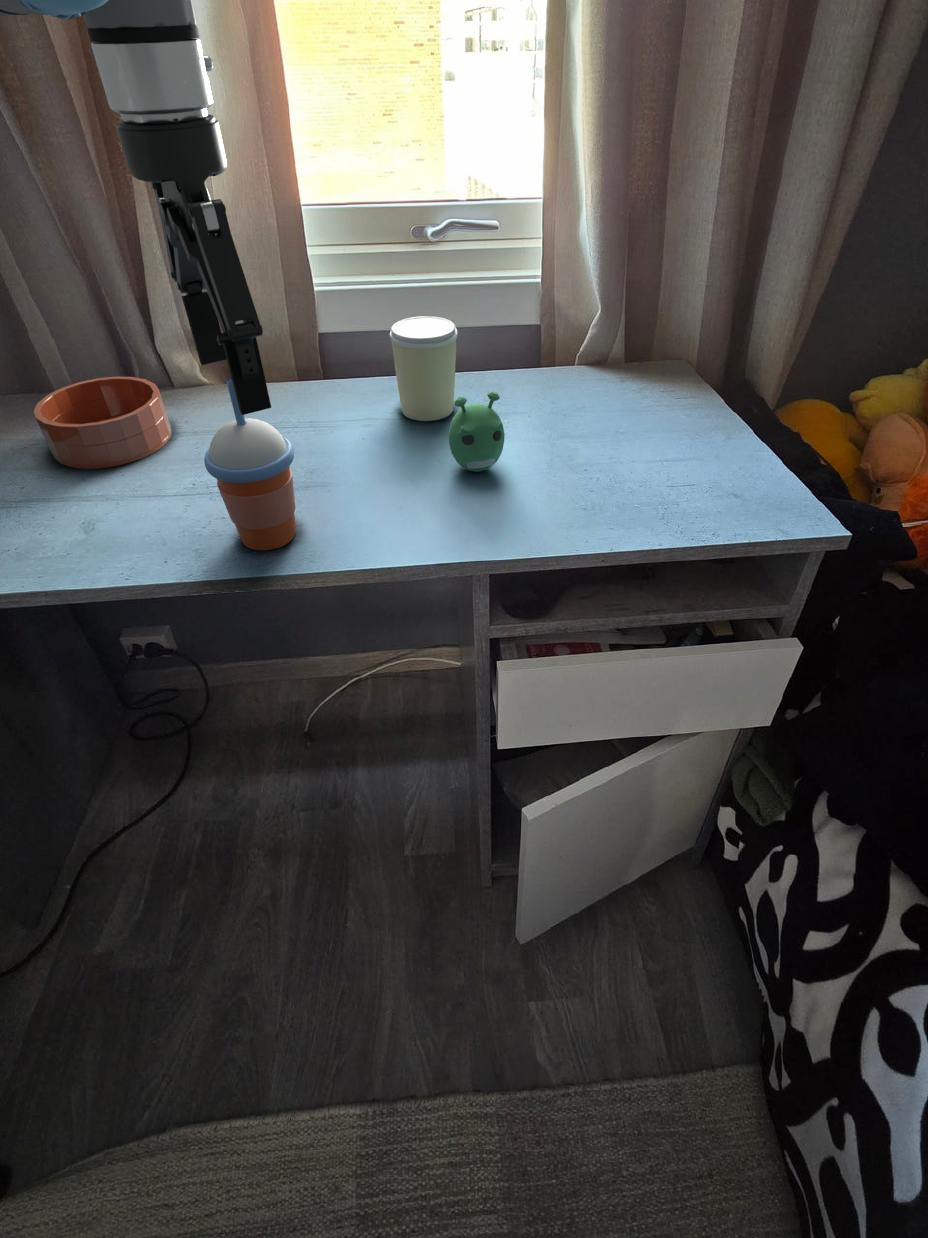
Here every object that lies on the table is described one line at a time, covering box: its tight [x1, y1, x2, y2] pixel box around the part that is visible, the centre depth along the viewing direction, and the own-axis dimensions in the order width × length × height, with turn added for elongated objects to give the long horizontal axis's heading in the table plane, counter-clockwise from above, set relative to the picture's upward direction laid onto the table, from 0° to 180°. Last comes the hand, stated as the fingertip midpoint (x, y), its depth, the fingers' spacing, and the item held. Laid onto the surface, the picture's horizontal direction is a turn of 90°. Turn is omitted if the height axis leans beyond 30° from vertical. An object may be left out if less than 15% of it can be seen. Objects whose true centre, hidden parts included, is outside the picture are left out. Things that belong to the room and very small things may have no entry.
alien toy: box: [448, 391, 505, 472], centre depth 86 cm, size 7×8×10 cm
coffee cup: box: [389, 315, 458, 422], centre depth 98 cm, size 9×9×12 cm
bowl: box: [33, 376, 172, 470], centre depth 94 cm, size 16×16×6 cm
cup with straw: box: [203, 379, 297, 551], centre depth 73 cm, size 9×9×18 cm
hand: (233, 384), depth 67 cm, fingers open, 13 cm apart
